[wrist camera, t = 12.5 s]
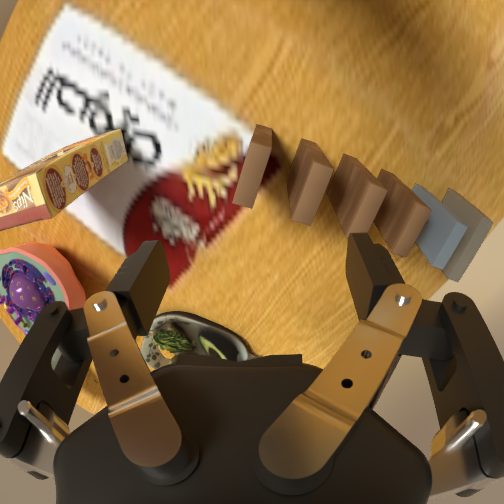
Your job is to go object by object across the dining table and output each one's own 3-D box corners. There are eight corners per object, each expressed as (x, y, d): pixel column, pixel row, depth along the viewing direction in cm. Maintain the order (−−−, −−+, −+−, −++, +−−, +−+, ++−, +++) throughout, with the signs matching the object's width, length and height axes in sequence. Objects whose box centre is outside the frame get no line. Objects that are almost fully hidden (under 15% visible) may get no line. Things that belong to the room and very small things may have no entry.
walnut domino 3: (326, 194, 33) (345, 237, 25) (343, 153, 31) (370, 183, 22) (339, 198, 33) (362, 242, 25) (356, 158, 31) (387, 190, 22)
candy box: (122, 127, 30) (34, 168, 17) (130, 161, 32) (52, 220, 19) (64, 146, 31) (-23, 193, 18) (73, 176, 33) (-7, 235, 20)
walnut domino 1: (243, 167, 32) (232, 202, 24) (256, 124, 30) (250, 142, 21) (257, 171, 32) (252, 208, 24) (271, 128, 30) (271, 148, 21)
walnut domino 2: (286, 180, 33) (291, 220, 24) (301, 138, 30) (314, 162, 22) (300, 185, 33) (310, 226, 24) (315, 143, 30) (333, 169, 22)
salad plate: (219, 395, 56) (216, 414, 52) (133, 362, 52) (126, 381, 48) (268, 341, 46) (268, 364, 42) (159, 295, 43) (150, 317, 39)
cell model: (20, 289, 45) (-12, 328, 35) (23, 200, 35) (-26, 237, 26) (92, 332, 48) (66, 380, 39) (112, 251, 39) (73, 304, 29)
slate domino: (397, 219, 34) (431, 265, 26) (415, 183, 31) (457, 221, 23) (407, 223, 34) (442, 269, 26) (425, 188, 32) (467, 226, 23)
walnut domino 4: (364, 207, 34) (392, 252, 25) (381, 168, 31) (418, 203, 23) (375, 211, 34) (406, 257, 25) (393, 174, 31) (431, 210, 23)
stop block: (420, 241, 35) (446, 278, 28) (448, 187, 31) (483, 216, 24) (431, 246, 36) (458, 282, 29) (459, 193, 31) (493, 222, 25)
